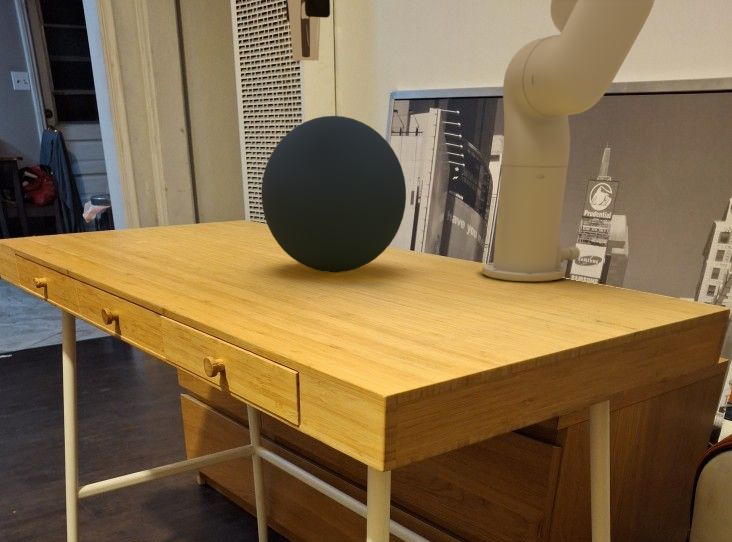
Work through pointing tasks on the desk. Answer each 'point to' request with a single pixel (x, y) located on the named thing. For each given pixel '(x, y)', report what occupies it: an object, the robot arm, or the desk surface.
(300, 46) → the milkshake
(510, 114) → the robot arm
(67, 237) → the desk surface
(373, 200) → the ball
